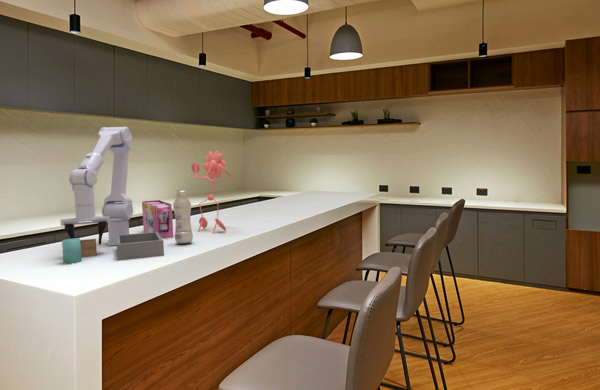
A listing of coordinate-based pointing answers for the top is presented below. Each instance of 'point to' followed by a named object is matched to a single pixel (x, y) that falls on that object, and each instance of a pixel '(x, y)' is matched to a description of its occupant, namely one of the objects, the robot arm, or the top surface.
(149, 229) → the gum box
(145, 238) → the tote
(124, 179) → the robot arm
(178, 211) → the plastic bottle
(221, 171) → the figurine
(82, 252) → the walnut cube
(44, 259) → the top surface
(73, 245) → the teal cylinder
